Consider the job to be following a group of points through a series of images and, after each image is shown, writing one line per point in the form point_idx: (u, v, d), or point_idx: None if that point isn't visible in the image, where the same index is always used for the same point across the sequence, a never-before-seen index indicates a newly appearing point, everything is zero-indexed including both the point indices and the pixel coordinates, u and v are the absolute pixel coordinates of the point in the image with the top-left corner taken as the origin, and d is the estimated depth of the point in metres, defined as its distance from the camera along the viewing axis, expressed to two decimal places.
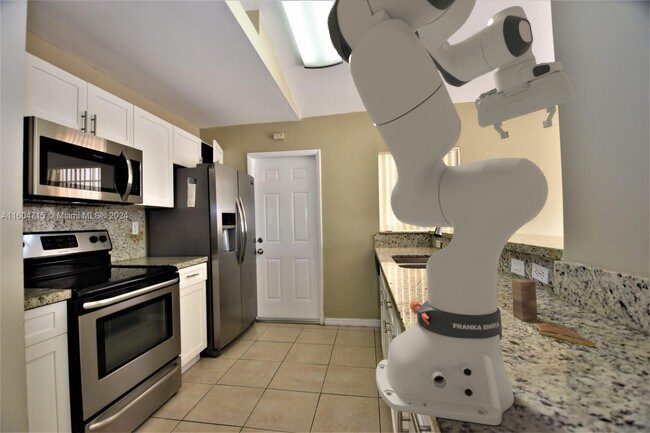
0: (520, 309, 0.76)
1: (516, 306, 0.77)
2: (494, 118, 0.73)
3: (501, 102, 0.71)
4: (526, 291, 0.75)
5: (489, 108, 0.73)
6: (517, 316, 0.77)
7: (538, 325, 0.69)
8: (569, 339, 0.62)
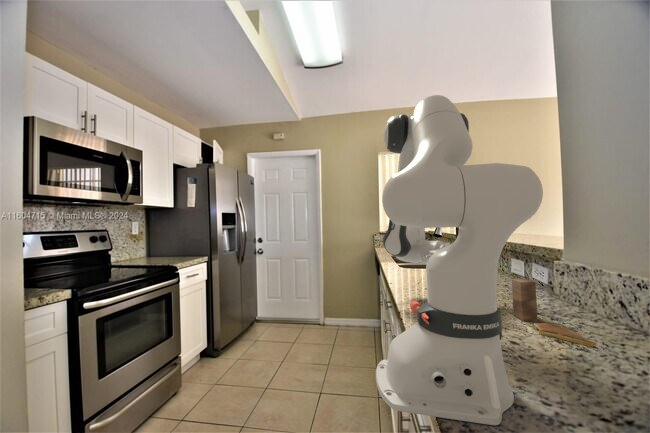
0: (520, 309, 0.76)
1: (516, 306, 0.77)
2: None
3: None
4: (526, 291, 0.75)
5: None
6: (517, 316, 0.77)
7: (538, 325, 0.69)
8: (569, 339, 0.62)
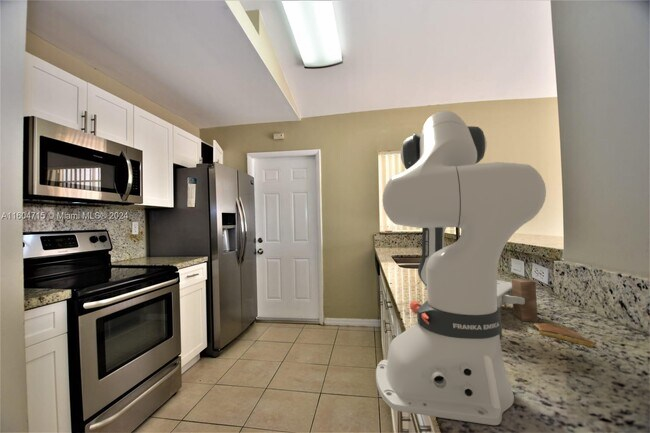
0: (520, 309, 0.76)
1: (516, 306, 0.77)
2: (496, 292, 0.77)
3: None
4: (526, 291, 0.75)
5: None
6: (517, 316, 0.77)
7: (538, 325, 0.69)
8: (569, 339, 0.62)
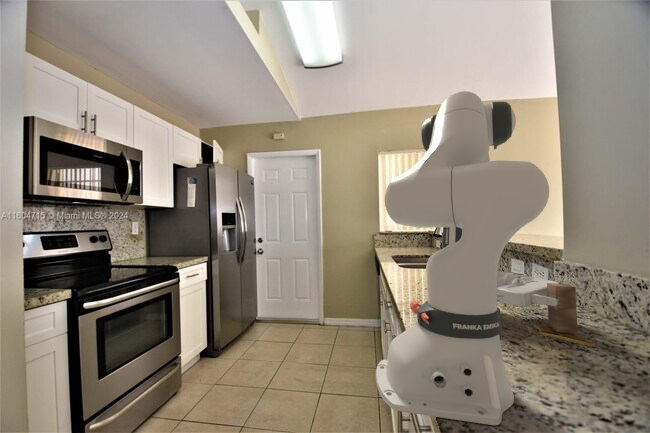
0: (554, 318, 0.65)
1: (551, 314, 0.66)
2: (525, 289, 0.68)
3: (515, 287, 0.72)
4: (563, 297, 0.64)
5: (510, 289, 0.70)
6: (552, 326, 0.66)
7: (538, 326, 0.69)
8: (570, 340, 0.62)
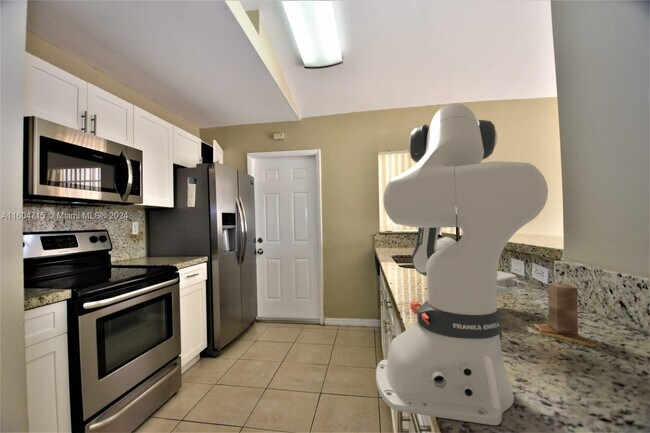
0: (555, 319, 0.65)
1: (552, 314, 0.66)
2: None
3: None
4: (564, 298, 0.63)
5: None
6: (552, 326, 0.66)
7: (538, 326, 0.69)
8: (570, 340, 0.62)
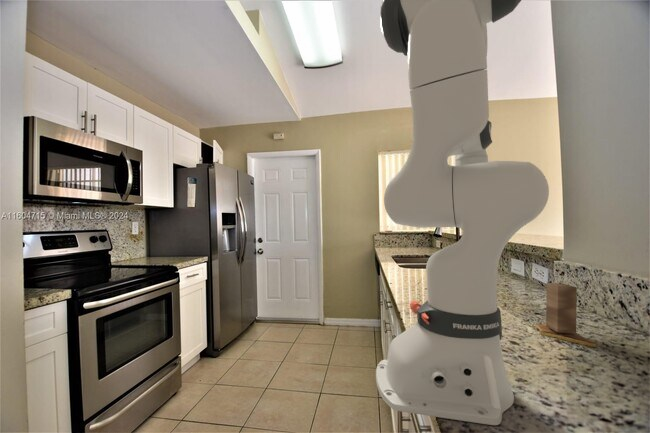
0: (554, 318, 0.64)
1: (551, 314, 0.66)
2: None
3: None
4: (564, 297, 0.64)
5: None
6: (550, 326, 0.66)
7: (539, 326, 0.69)
8: (570, 340, 0.62)
